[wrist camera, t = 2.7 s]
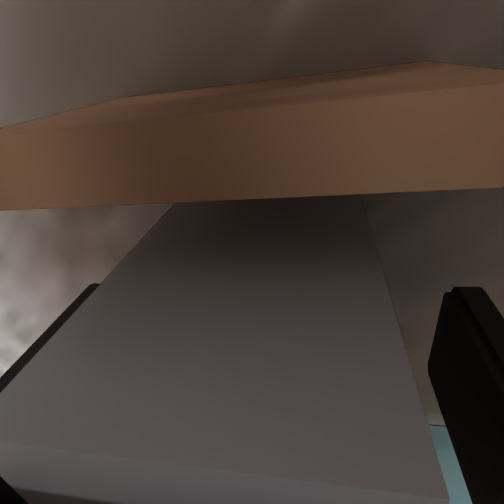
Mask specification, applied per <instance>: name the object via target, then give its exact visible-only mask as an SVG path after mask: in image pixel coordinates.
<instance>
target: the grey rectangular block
mask: <svg viewBox="0 0 504 504" xmlns="http://www.w3.org/2000/svg"><path fill="white" fill-rule="evenodd" d="M0 476H1V477H2V478H3V479H4V480H5V481H6V482H7V483H8V484H9V485H10V486H11V487H12V488H13V489H14V490H15V491H16V492H17V493H18V494H19V495H20V496H21V497H22V498H23V499H24V500H25V501H26V502H27V503H28V504H449V501H450V497H449V494H448V490H447V487H446V484H445V480H444V477H443V473H442V470H441V467H440V463H439V460H438V456H437V453H436V450H435V446H434V443H433V439H432V436H431V433H430V429H429V426H428V422H427V419H426V416H425V412H424V409H423V405H422V402H421V399H420V395H419V392H418V388H417V385H416V381H415V378H414V375H413V371H412V368H411V364H410V361H409V358H408V354H407V351H406V347H405V344H404V341H403V337H402V334H401V330H400V327H399V324H398V320H397V317H396V313H395V310H394V307H393V303H392V300H391V296H390V293H389V290H388V286H387V283H386V279H385V276H384V273H383V269H382V266H381V262H380V259H379V255H378V252H377V249H376V245H375V242H374V238H373V235H372V232H371V228H370V225H369V221H368V218H367V215H366V211H365V208H364V204H363V201H362V198H361V194H351V195H330V196H308V197H286V198H264V199H242V200H220V201H198V202H177V203H174V204H173V205H172V207H171V208H170V209H169V210H168V211H167V212H166V213H165V214H164V215H163V216H162V217H161V219H160V220H159V221H158V222H157V223H156V224H155V225H154V226H153V227H152V228H151V229H150V231H149V232H148V233H147V234H146V235H145V236H144V237H143V238H142V239H141V240H140V241H139V242H138V244H137V245H136V246H135V247H134V248H133V249H132V250H131V251H130V252H129V253H128V254H127V256H126V257H125V258H124V259H123V260H122V261H121V262H120V263H119V264H118V265H117V266H116V268H115V269H114V270H113V271H112V272H111V273H110V274H109V275H108V276H107V277H106V278H105V280H104V281H103V282H102V283H101V284H100V285H99V286H98V287H97V288H96V289H95V290H94V292H93V293H92V294H91V295H90V296H89V297H88V298H87V299H86V300H85V301H84V302H83V303H82V305H81V306H80V307H79V308H78V309H77V310H76V311H75V312H74V313H73V314H72V315H71V317H70V318H69V319H68V320H67V321H66V322H65V323H64V324H63V325H62V326H61V327H60V329H59V330H58V331H57V332H56V333H55V334H54V335H53V336H52V337H51V338H50V339H49V341H48V342H47V343H46V344H45V345H44V346H43V347H42V348H41V349H40V350H39V351H38V353H37V354H36V355H35V356H34V357H33V358H32V359H31V360H30V361H29V362H28V363H27V364H26V366H25V367H24V368H23V369H22V370H21V371H20V372H19V373H18V374H17V375H16V376H15V378H14V379H13V380H12V381H11V382H10V383H9V384H8V385H7V386H6V387H5V388H4V390H3V391H2V392H1V393H0Z"/></svg>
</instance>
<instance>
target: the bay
mask: <svg viewBox="0 0 504 504" xmlns="http://www.w3.org/2000/svg"><path fill="white" fill-rule="evenodd" d="M483 188H504V70H500V69H491V68H483V67H474V66H466V65H458V64H449V63H441V62H432V61H424V62H415V63H407V64H399V65H390V66H382V67H374V68H365V69H357V70H349V71H340V72H332V73H324V74H315V75H307V76H299V77H290V78H282V79H274V80H265V81H257V82H249V83H240V84H232V85H224V86H215V87H207V88H198V89H190V90H182V91H173V92H165V93H157V94H148V95H140V96H132V97H123V98H117V99H113V100H110V101H106V102H102V103H98V104H94V105H90V106H86V107H82V108H78V109H74V110H70V111H66V112H62V113H58V114H54V115H50V116H46V117H43V118H39V119H35V120H31V121H27V122H23V123H19V124H15V125H11V126H7V127H3V128H0V211H2V210H23V209H45V208H67V207H89V206H111V205H133V204H155V203H177V202H198V201H220V200H242V199H264V198H286V197H308V196H330V195H351V194H373V193H395V192H417V191H439V190H461V189H483Z"/></svg>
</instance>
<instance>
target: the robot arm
mask: <svg viewBox="0 0 504 504" xmlns="http://www.w3.org/2000/svg"><path fill="white" fill-rule="evenodd" d="M99 285H100V284H95V283H94V284H91V285H89V286H88V287H87V288H86V289H85V290H84V291H83V292H82V293H81V294H80V295H79V296H78V297H77V299H76V300H75V301H74V302H73V303H72V304H71V305H70V306H69V307H68V308H67V309H66V310H65V311H64V312H63V313H62V314H61V315H60V316H59V317H58V318H57V319H56V320H55V321H54V322H53V324H52V325H51V326H50V327H49V328H48V329H47V330H46V331H45V332H44V333H43V334H42V335H41V336H40V337H39V338H38V339H37V340H36V341H35V342H34V343H33V344H32V345H31V346H30V347H29V348H28V350H27V351H26V352H25V353H24V354H23V355H22V356H21V357H20V358H19V359H18V360H17V361H16V362H15V363H14V364H13V365H12V366H11V367H10V368H9V369H8V370H7V371H6V372H5V373H4V375H3V376H2V377H1V378H0V393H1V392H2V391H3V390H4V388H5V387H6V386H7V385H8V384H9V383H10V382H11V381H12V380H13V379H14V378H15V376H16V375H17V374H18V373H19V372H20V371H21V370H22V369H23V368H24V367H25V366H26V364H27V363H28V362H29V361H30V360H31V359H32V358H33V357H34V356H35V355H36V354H37V353H38V351H39V350H40V349H41V348H42V347H43V346H44V345H45V344H46V343H47V342H48V341H49V339H50V338H51V337H52V336H53V335H54V334H55V333H56V332H57V331H58V330H59V329H60V327H61V326H62V325H63V324H64V323H65V322H66V321H67V320H68V319H69V318H70V317H71V315H72V314H73V313H74V312H75V311H76V310H77V309H78V308H79V307H80V306H81V305H82V303H83V302H84V301H85V300H86V299H87V298H88V297H89V296H90V295H91V294H92V293H93V292H94V290H95V289H96V288H97V287H98V286H99ZM428 374H429V378H430V381H431V384H432V387H433V389H434V392H435V395H436V398H437V401H438V404H439V407H440V410H441V413H442V416H443V419H444V422H445V425H446V428H447V431H448V434H449V436H450V439H451V442H452V445H453V448H454V451H455V454H456V457H457V460H458V463H459V466H460V469H461V472H462V475H463V478H464V481H465V483H466V486H467V489H468V492H469V495H470V498H471V501H472V504H504V318H503V317H502V315H501V314H500V312H499V311H498V310H497V308H496V307H495V305H494V304H493V302H492V301H491V299H490V298H489V296H488V295H487V294H486V292H485V291H484V290H483V288H481V287H454V288H453V289H452V291H451V292H446V293H445V294H444V296H443V300H442V305H441V309H440V313H439V318H438V322H437V326H436V330H435V335H434V339H433V343H432V348H431V352H430V356H429V361H428ZM0 504H28V503H27V502H26V501H25V500H24V499H23V498H22V497H21V496H20V495H19V494H18V493H17V492H16V491H15V490H14V489H13V488H12V487H11V486H10V485H9V484H8V483H7V482H6V481H5V480H4V479H3V478H2V477H1V476H0Z"/></svg>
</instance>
